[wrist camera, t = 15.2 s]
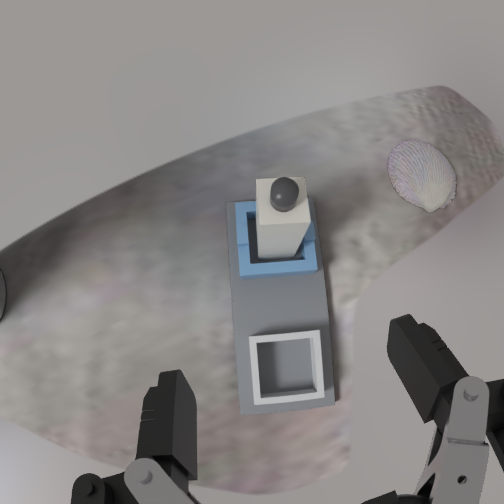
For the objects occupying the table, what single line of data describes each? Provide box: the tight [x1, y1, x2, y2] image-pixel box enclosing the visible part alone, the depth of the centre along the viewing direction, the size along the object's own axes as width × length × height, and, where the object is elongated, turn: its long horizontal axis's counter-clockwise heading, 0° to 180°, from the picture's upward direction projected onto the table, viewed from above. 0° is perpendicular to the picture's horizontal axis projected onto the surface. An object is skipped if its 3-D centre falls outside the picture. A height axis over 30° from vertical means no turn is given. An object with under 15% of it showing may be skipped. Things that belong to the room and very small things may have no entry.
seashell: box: [388, 140, 457, 213], centre depth 32 cm, size 10×6×10 cm
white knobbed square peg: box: [256, 177, 311, 260], centre depth 25 cm, size 3×3×12 cm
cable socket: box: [226, 197, 335, 415], centre depth 28 cm, size 21×9×4 cm, turn 4°
